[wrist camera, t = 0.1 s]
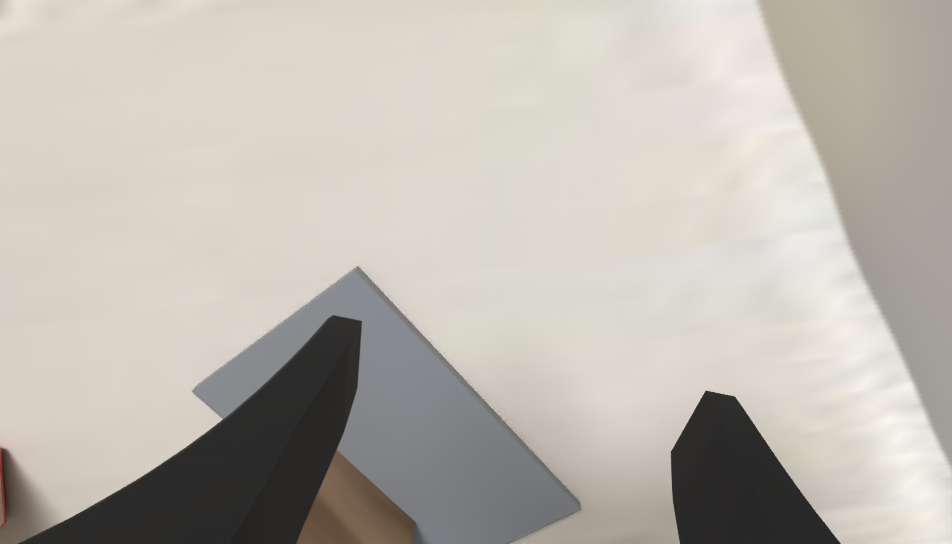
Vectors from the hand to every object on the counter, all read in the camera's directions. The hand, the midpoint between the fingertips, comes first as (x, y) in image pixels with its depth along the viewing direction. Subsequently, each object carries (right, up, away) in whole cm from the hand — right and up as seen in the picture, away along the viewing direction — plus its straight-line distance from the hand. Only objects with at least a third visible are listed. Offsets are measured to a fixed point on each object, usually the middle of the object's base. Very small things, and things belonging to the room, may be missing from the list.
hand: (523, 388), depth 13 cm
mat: (-5, -5, +15) cm, 17 cm away
